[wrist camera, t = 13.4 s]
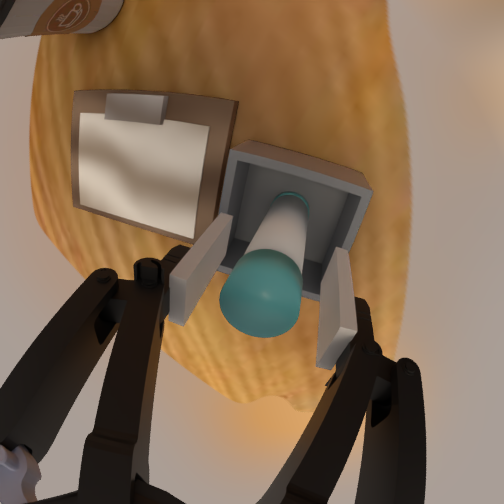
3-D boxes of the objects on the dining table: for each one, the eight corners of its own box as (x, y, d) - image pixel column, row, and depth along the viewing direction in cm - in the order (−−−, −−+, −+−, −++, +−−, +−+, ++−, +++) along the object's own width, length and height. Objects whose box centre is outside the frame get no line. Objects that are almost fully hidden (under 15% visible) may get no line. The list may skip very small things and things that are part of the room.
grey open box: (248, 139, 21) (230, 149, 17) (361, 172, 20) (373, 191, 16) (228, 239, 26) (209, 268, 21) (325, 268, 25) (325, 303, 21)
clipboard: (82, 90, 21) (68, 91, 19) (238, 101, 19) (231, 101, 18) (80, 202, 28) (68, 209, 26) (212, 243, 26) (205, 253, 25)
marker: (275, 186, 22) (226, 261, 10) (314, 197, 21) (310, 286, 10) (266, 222, 23) (214, 323, 12) (303, 233, 23) (285, 345, 11)
